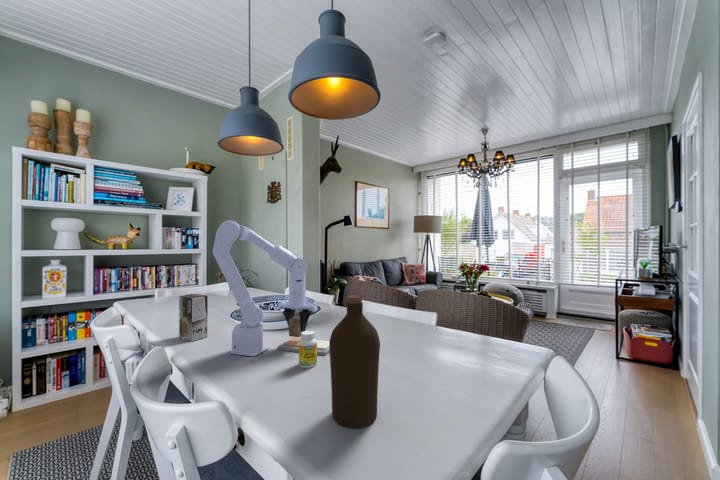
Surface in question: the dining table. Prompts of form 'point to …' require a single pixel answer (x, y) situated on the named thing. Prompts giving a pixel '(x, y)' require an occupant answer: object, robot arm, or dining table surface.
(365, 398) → the olive oil
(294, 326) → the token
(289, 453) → the dining table surface
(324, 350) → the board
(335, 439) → the dining table surface
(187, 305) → the coffee box
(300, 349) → the supplement bottle
